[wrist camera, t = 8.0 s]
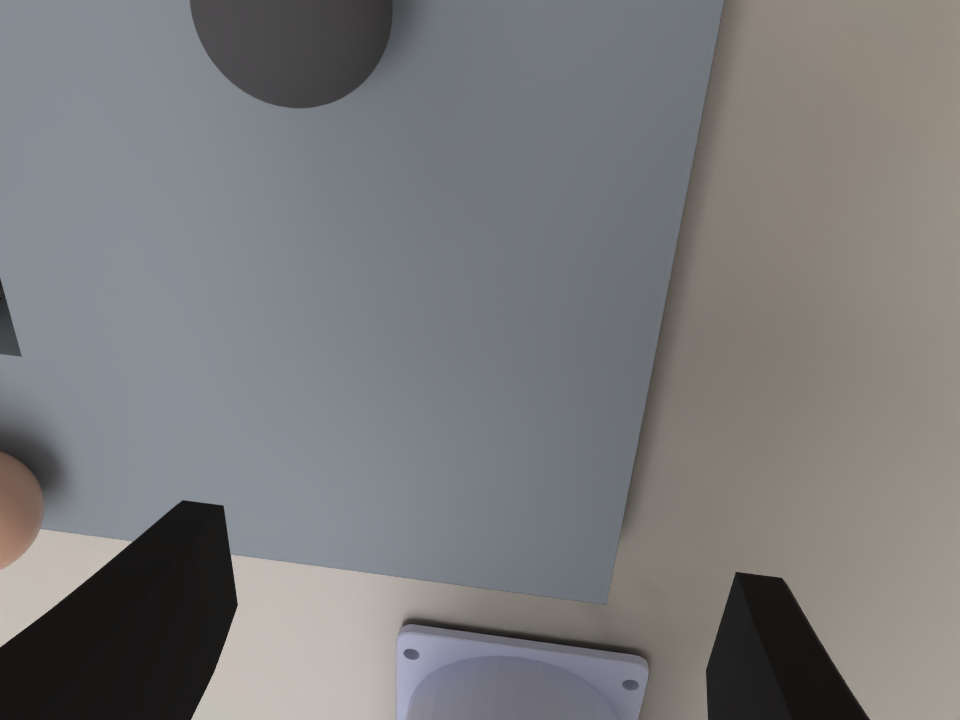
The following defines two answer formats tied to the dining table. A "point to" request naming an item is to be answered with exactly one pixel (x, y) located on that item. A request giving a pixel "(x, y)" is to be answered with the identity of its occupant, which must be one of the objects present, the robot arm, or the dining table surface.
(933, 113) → the dining table surface
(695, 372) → the dining table surface
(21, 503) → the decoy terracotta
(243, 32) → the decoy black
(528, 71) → the board
